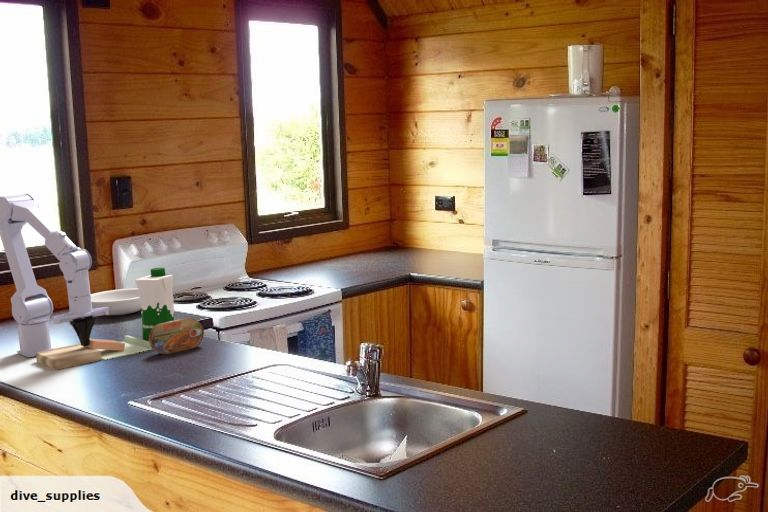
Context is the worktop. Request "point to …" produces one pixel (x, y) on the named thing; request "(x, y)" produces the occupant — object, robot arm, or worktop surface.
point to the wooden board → (68, 356)
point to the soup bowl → (117, 301)
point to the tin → (176, 335)
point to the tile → (106, 344)
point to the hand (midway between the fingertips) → (85, 345)
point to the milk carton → (155, 299)
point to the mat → (127, 348)
